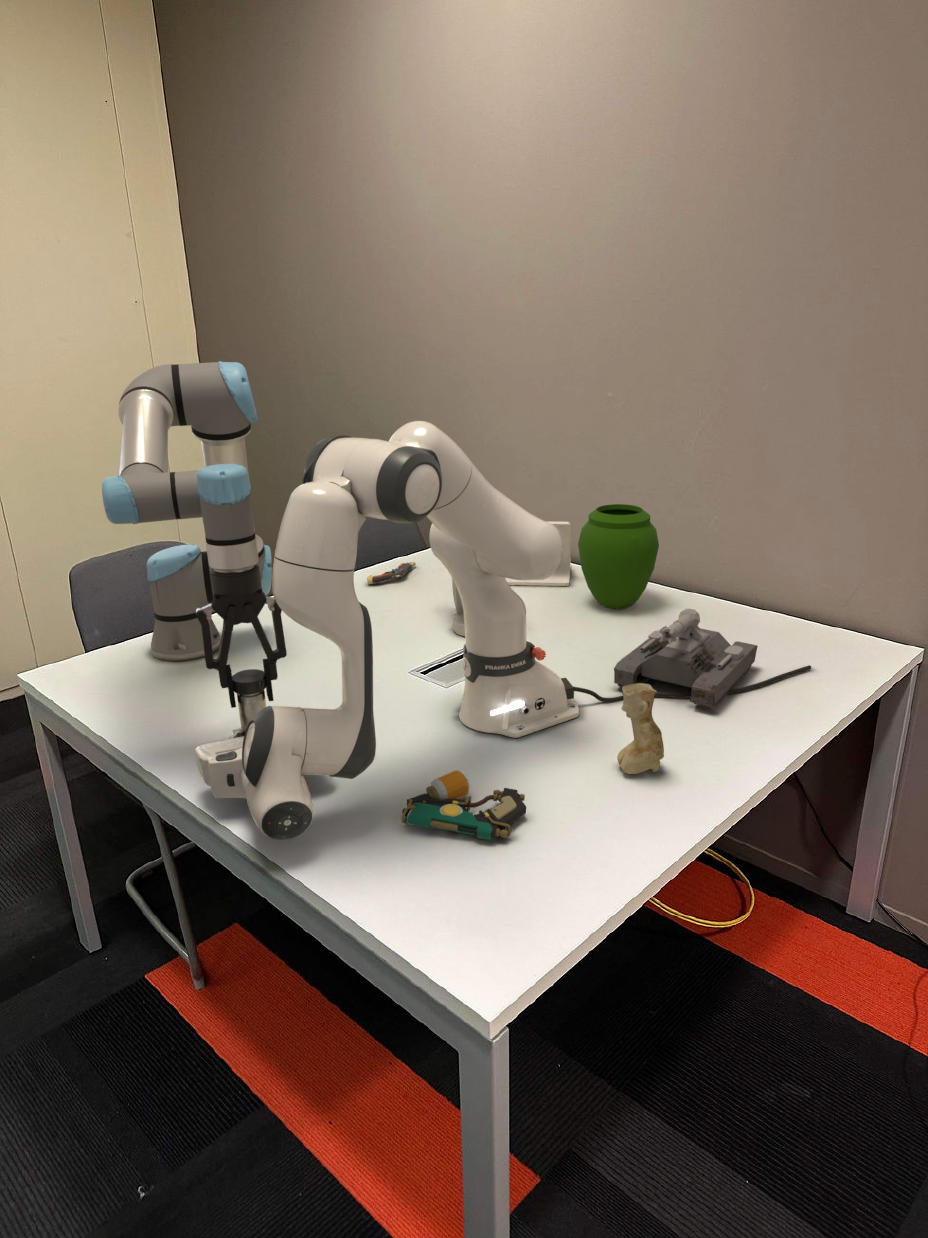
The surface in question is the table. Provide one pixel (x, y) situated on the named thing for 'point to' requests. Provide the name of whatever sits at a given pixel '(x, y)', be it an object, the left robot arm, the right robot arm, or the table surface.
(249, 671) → the lid
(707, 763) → the table surface
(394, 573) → the toy gun
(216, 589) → the left robot arm
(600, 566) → the vase
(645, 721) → the sculpture
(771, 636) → the table surface
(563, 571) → the tablet stand
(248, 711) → the beige long cylinder
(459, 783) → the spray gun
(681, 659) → the toy
